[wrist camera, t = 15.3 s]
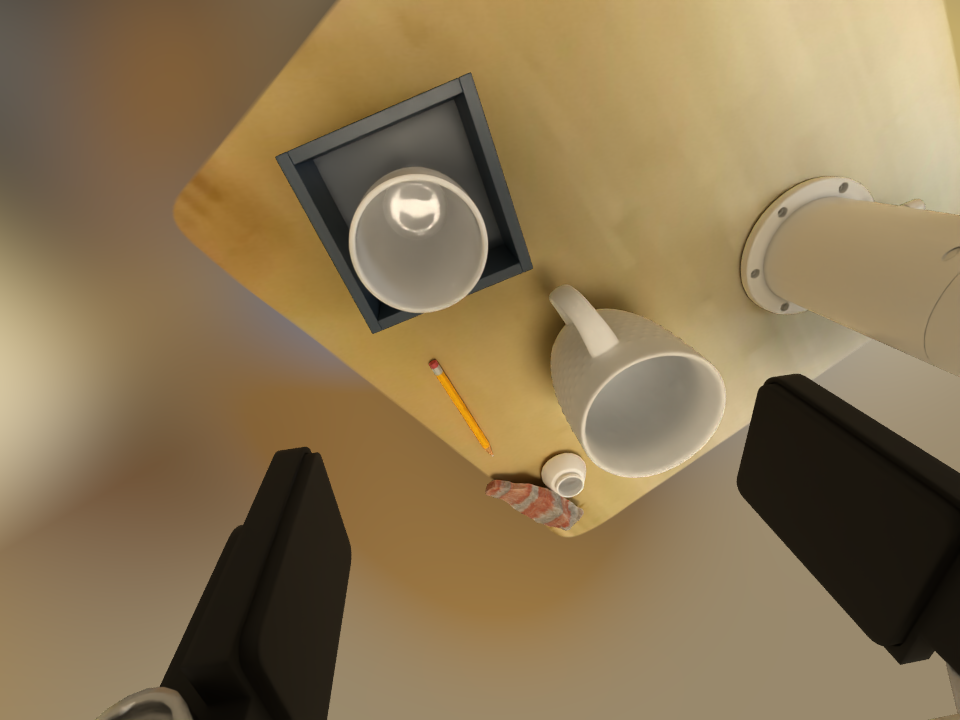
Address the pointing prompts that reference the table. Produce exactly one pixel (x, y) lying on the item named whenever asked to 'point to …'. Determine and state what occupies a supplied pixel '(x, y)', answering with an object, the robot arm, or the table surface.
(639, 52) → the table surface
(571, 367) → the mug
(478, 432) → the pencil
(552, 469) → the lidless jar
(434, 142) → the bin
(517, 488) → the stone
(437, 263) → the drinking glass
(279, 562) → the robot arm
